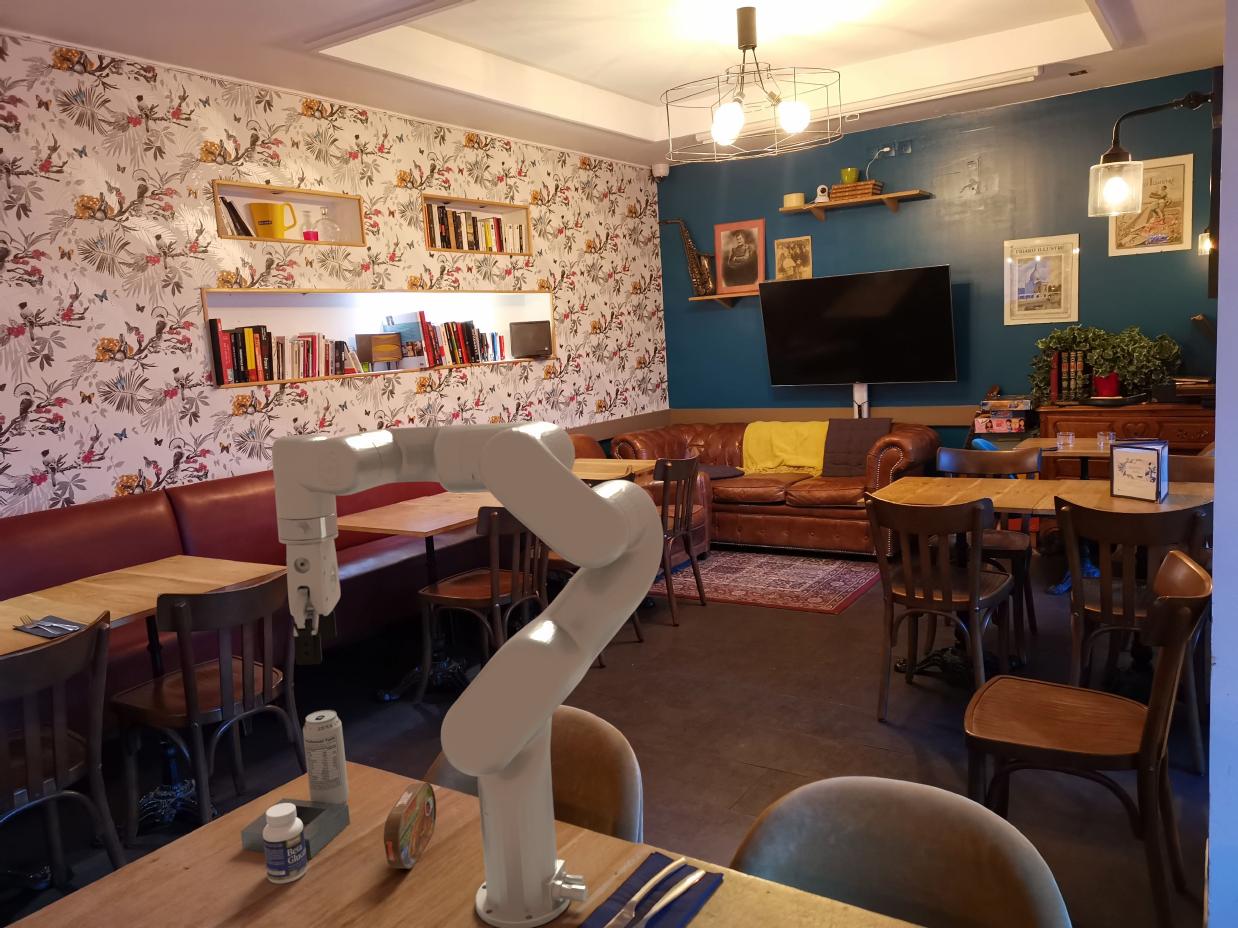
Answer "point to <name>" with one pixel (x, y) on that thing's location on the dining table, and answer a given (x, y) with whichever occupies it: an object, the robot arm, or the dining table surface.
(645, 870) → the dining table surface
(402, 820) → the tin
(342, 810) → the socket block
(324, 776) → the energy drink can
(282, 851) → the pill bottle
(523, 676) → the robot arm
